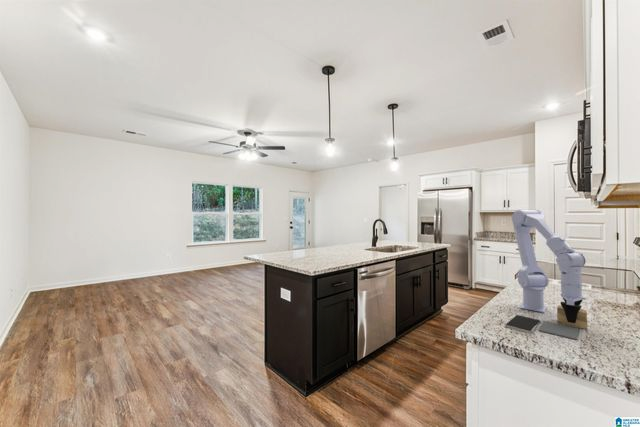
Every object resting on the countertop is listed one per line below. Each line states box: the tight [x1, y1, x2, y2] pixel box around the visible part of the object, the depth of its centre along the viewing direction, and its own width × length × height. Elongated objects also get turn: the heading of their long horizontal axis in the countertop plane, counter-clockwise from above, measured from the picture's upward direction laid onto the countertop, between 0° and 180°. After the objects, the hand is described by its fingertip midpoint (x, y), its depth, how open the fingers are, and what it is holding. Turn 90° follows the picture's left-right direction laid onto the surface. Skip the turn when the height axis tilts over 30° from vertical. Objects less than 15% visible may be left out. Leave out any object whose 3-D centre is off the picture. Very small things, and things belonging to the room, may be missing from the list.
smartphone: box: [505, 314, 542, 334], centre depth 102 cm, size 8×1×15 cm
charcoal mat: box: [538, 320, 580, 341], centre depth 96 cm, size 12×10×1 cm
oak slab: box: [556, 304, 588, 330], centre depth 101 cm, size 4×8×6 cm, turn 44°
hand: (572, 319), depth 101 cm, fingers open, 7 cm apart
